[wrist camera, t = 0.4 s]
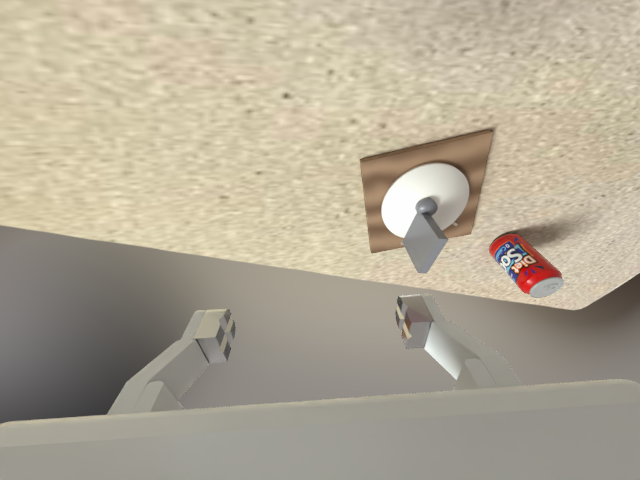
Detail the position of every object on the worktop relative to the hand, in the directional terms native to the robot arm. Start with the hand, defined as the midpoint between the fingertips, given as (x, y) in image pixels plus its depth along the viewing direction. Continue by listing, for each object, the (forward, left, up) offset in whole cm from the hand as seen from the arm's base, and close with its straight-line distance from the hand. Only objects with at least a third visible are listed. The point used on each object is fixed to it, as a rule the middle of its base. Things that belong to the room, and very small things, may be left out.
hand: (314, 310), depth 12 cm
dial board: (+22, +20, -39) cm, 49 cm away
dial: (+22, +20, -38) cm, 48 cm away
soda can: (+41, +42, -40) cm, 71 cm away
